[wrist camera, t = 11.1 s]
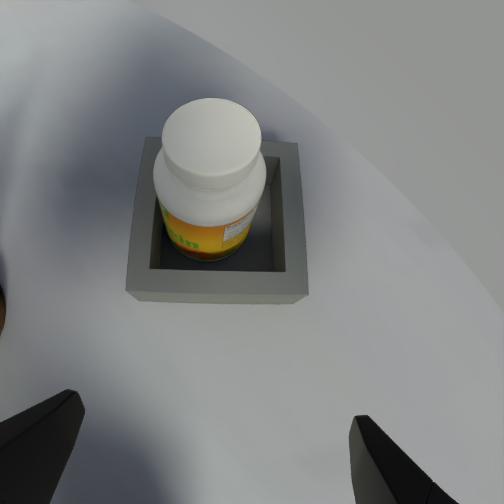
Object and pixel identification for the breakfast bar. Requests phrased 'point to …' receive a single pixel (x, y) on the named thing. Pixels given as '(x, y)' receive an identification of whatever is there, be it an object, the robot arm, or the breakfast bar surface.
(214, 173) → the supplement bottle
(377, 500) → the robot arm
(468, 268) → the breakfast bar surface
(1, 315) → the brown chess piece
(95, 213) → the breakfast bar surface
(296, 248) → the grey square frame
